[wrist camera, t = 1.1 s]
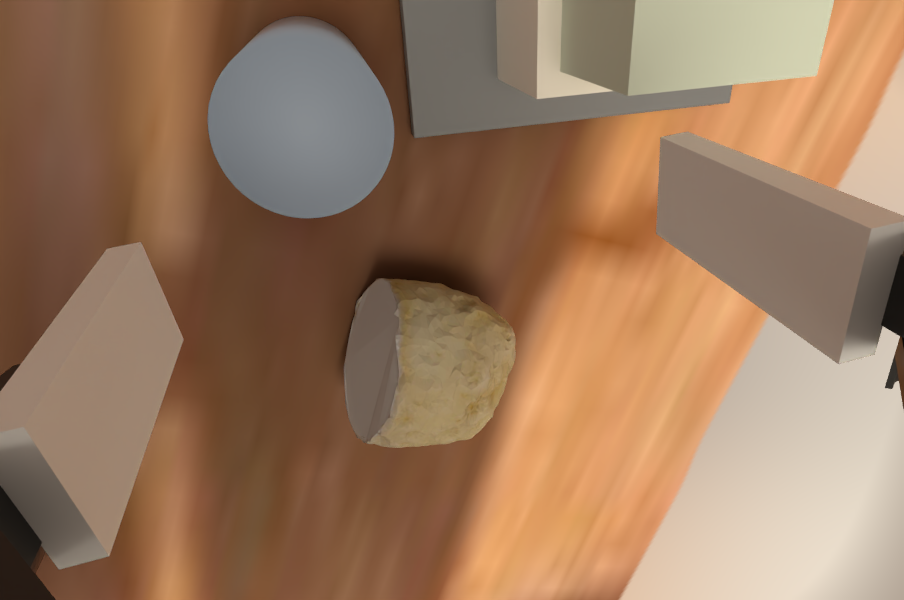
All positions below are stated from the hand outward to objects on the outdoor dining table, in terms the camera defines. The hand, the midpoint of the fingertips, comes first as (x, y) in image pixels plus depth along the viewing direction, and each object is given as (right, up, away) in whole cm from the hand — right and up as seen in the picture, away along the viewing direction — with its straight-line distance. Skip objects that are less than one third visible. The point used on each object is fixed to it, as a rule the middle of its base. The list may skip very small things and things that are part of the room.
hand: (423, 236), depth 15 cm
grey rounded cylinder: (-6, +9, +14) cm, 18 cm away
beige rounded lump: (-2, -3, +22) cm, 22 cm away
